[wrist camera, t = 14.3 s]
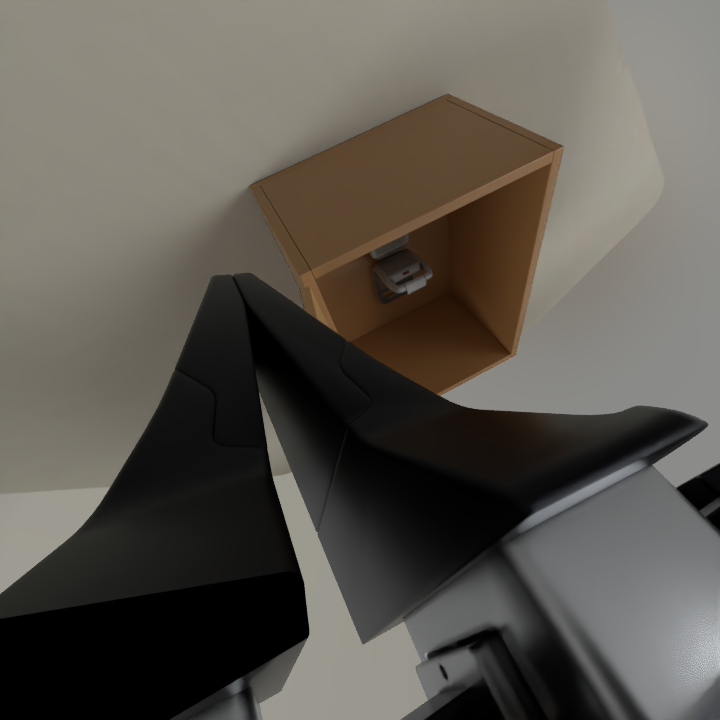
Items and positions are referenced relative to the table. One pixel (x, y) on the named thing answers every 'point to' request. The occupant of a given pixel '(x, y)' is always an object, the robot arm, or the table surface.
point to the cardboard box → (421, 235)
